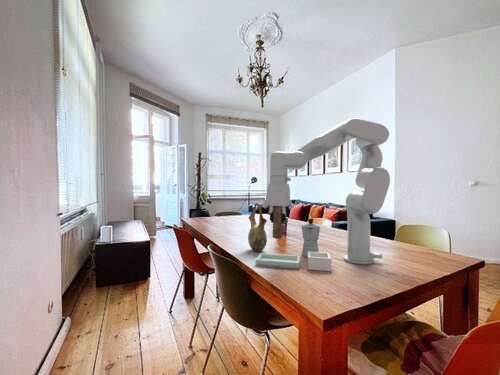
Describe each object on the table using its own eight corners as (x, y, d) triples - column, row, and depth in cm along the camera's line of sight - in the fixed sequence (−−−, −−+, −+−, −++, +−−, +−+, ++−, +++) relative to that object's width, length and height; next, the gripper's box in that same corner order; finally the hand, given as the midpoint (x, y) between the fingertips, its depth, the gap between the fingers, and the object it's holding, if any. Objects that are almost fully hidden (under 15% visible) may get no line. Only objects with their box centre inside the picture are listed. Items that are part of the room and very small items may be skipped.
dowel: (282, 236, 109) (282, 205, 109) (281, 238, 105) (282, 205, 105) (273, 236, 110) (273, 204, 110) (271, 238, 106) (272, 205, 106)
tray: (299, 261, 111) (299, 255, 111) (299, 269, 101) (299, 262, 100) (260, 258, 115) (260, 252, 115) (255, 265, 104) (255, 259, 104)
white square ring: (329, 264, 107) (329, 252, 107) (331, 271, 98) (331, 258, 98) (307, 262, 109) (307, 251, 109) (307, 269, 100) (308, 257, 100)
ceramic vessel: (273, 253, 124) (273, 203, 123) (257, 255, 119) (257, 204, 119) (257, 246, 138) (257, 201, 138) (242, 248, 134) (242, 202, 134)
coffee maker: (319, 260, 112) (319, 220, 112) (299, 258, 115) (299, 219, 115) (320, 252, 127) (321, 216, 126) (303, 250, 129) (303, 216, 129)
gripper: (298, 181, 109) (297, 222, 109) (261, 180, 113) (260, 220, 113) (297, 180, 102) (296, 224, 102) (258, 179, 106) (257, 222, 106)
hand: (277, 222), depth 108 cm, fingers closed on dowel, 4 cm apart
